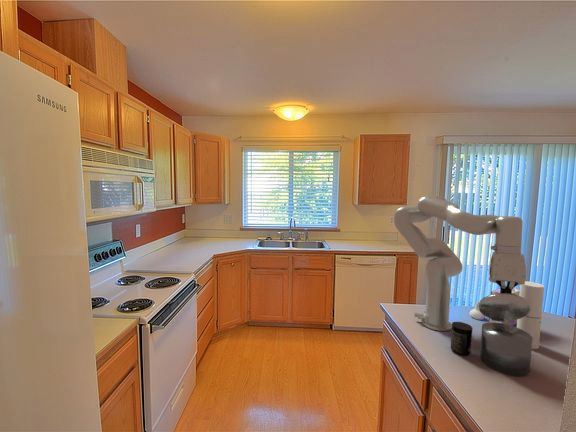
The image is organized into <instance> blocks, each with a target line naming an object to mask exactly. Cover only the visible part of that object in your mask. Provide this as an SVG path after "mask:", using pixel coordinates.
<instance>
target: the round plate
mask: <svg viewBox="0 0 576 432" xmlns="http://www.w3.org/2000/svg"><path fill="white" fill-rule="evenodd" d="M478 302H479V305H478V306H479V310H480V312H481V313H482V314H483V315H484V316H485V317H486V318H488V319H489V318H491V320H492V321H500V322H505V321H511V320H517V319H520V318H523V317H524V316H526V315H527V314H528V313H529V312H530V306H529V303H528V302H527V300H526V299H524V298H523V297H521V296H518V295H515V294H509V293H497V294H492V295H491V294H489V295H487V296H484V297H483V298H481V299H480V301H478Z"/></svg>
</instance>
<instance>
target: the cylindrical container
mask: <svg viewBox="0 0 576 432" xmlns="http://www.w3.org/2000/svg"><path fill="white" fill-rule="evenodd" d="M519 290H520V293H519V296H521V297H523V298H524V299H526V300H527V302H528V303H529V306H530V312H529V313H528V314H527V315H526V316H524V317H523V318H520V319H517V325H516V328H519V329H521V330H523V331H525V332H527V333H528V334H530V335H531V336H532V350H537V349H540V338H541V329H542V328H541V327H542V318H543V316H542V315H543V306H544V305H543V303H544V295H545V294H544V293H545V285H544V284H542V283H538V282H533V281H527V280H526V281H525V284H523V285H519Z"/></svg>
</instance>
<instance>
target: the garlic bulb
mask: <svg viewBox="0 0 576 432" xmlns="http://www.w3.org/2000/svg"><path fill="white" fill-rule="evenodd" d="M479 302H480V301H476V304H475V306H474V308H473V309H471V310H470V311H469V317H470V318H472V319H475V320H479V321H482V320H484V319H485V317H486V316H484V315H483V314H482V313H481V312H480V310H479V306H478V305H479Z"/></svg>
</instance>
